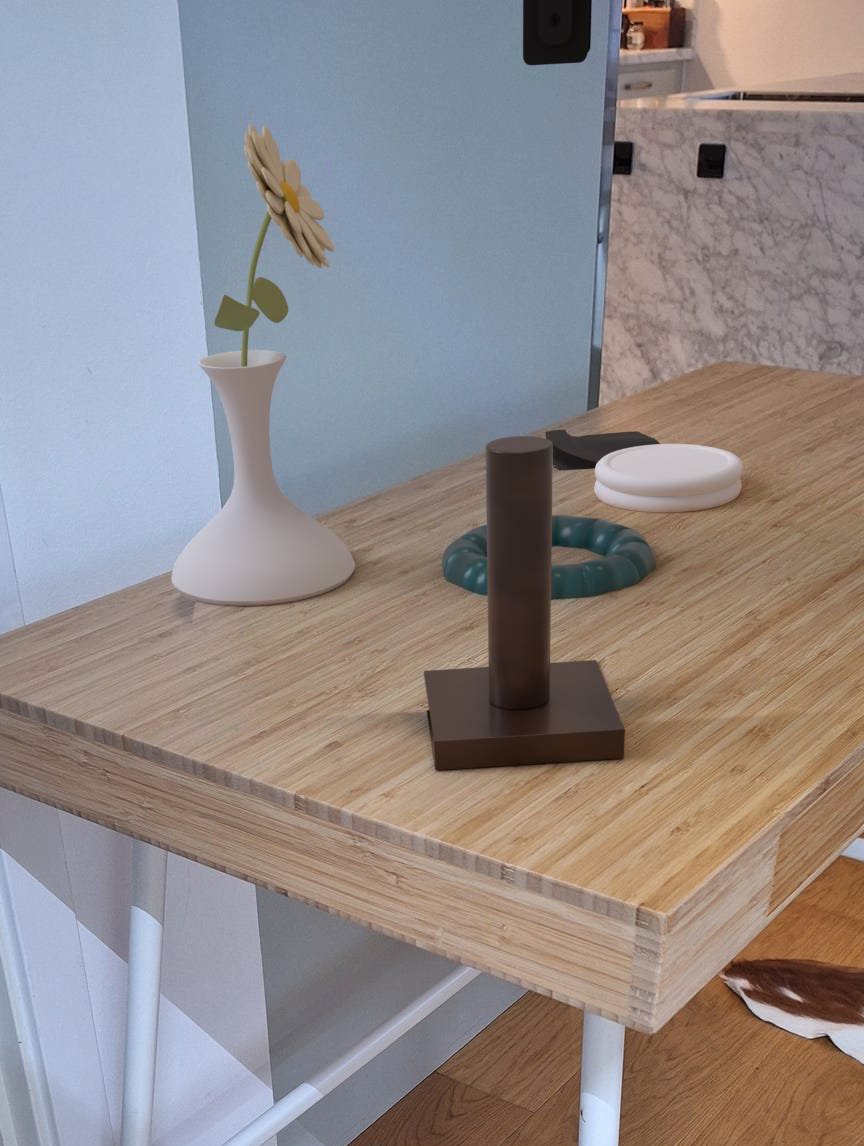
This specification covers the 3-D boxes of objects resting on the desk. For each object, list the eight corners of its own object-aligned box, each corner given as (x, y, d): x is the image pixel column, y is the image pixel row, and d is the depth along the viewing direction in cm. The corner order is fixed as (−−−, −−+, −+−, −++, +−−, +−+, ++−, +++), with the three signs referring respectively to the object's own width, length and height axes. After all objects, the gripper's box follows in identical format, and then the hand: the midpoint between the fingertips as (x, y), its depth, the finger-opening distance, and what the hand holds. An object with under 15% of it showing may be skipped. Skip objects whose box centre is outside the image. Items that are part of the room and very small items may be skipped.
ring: (633, 548, 96) (634, 504, 94) (670, 615, 85) (673, 566, 84) (437, 561, 96) (436, 517, 94) (451, 629, 85) (449, 581, 84)
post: (595, 687, 77) (604, 414, 69) (623, 758, 70) (637, 462, 62) (424, 697, 77) (413, 427, 69) (435, 770, 70) (424, 476, 62)
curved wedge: (584, 497, 106) (584, 474, 105) (540, 453, 117) (540, 431, 116) (695, 486, 107) (697, 463, 106) (641, 443, 118) (642, 421, 117)
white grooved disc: (564, 519, 102) (565, 466, 100) (644, 485, 108) (647, 435, 106) (689, 542, 96) (693, 487, 94) (766, 505, 102) (771, 452, 100)
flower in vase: (286, 640, 85) (239, 137, 71) (137, 613, 91) (65, 140, 76) (405, 574, 94) (385, 114, 80) (262, 552, 99) (219, 118, 85)
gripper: (651, -439, 60) (631, 62, 70) (645, -359, 74) (629, 50, 84) (468, -421, 61) (474, 71, 71) (496, -345, 75) (497, 57, 85)
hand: (558, 59), depth 77 cm, fingers open, 9 cm apart
